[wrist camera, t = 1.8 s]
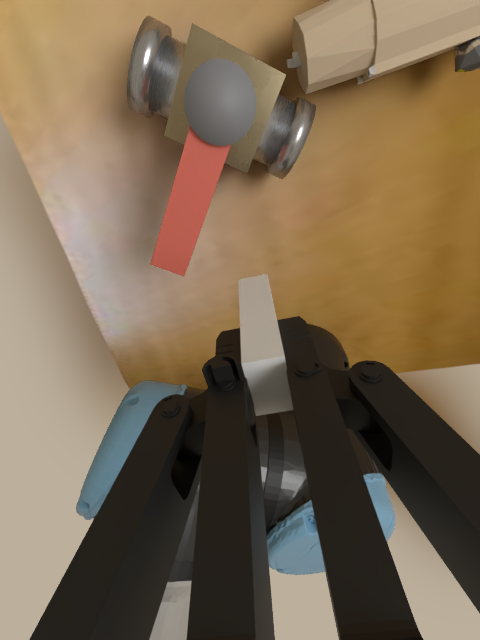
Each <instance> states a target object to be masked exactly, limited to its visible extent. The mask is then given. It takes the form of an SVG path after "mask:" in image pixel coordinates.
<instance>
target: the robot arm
mask: <svg viewBox="0 0 480 640" xmlns="http://www.w3.org/2000/svg"><path fill="white" fill-rule="evenodd" d="M239 309H240V328H238V329H233V330H228V331H222V332H221V333H220V335H219V336H218V338H217V340H216V355H215V357H213V358H212V359H210V360H208V361H207V362H206V363H205V365H204V366H203V369H202V372H203V374H204V377H205V380H206V382H207V385H208V389H207V390H206V391H205V390H200V389H196V388H191V387H187V385H184V384H181V385H175V384H169V383H163V382H157V381H149V380H148V381H142V382H140V383H138V384H136V385H134V386H133V387H132V388H131V389H130V390H129V391H128V393H127V394H126V395H125V397H124V399H123V400H122V402H121V404H120V406H119V407H118V409H117V411H116V414H115V415H114V417H113V419H112V422H111V423H110V425H109V427H108V429H107V432H106V434H105V436H104V438H103V440H102V442H101V445H100V446H99V449H98V451H97V453H96V455H95V458H94V460H93V462H92V465H91V467H90V469H89V472H88V474H87V477H86V479H85V482H84V485H83V487H82V490H81V495H80V498H79V501H78V503H77V506H76V510H77V513H78V514H79V515H82V516H83V517H84V518H85V519H87V520H90V519H91V518H94V520H93V523H92V524H91V526H90V528H89V530H88V532H87V533H86V536H85V537H84V539H83V541H82V543H81V545H80V546H79V548H78V550H77V552H76V554H75V556H74V558H73V560H72V561H71V563H70V565H69V567H68V569H67V571H66V573H65V575H64V576H63V578H62V580H61V582H60V584H59V586H58V587H57V589H56V591H55V593H54V595H53V597H52V599H51V600H50V602H49V604H48V606H47V608H46V610H45V612H44V614H43V616H42V617H41V619H40V621H39V623H38V625H37V627H36V628H35V630H34V632H33V634H32V636H31V638H30V640H275V636H274V624H273V612H272V599H271V587H270V576H269V567H271V568H272V569H276V570H277V571H278V572H280V573H284V574H294V575H301V574H303V575H304V574H313V573H319V572H326V577H327V582H328V587H329V591H330V597H331V602H332V607H333V612H334V616H335V622H336V627H337V632H338V636H339V640H423V638H422V637H421V634H420V632H419V630H418V628H417V625H416V623H415V620H414V617H413V614H412V612H411V609H410V606H409V603H408V600H407V598H406V595H405V592H404V589H403V586H402V584H401V581H400V578H399V575H398V572H397V569H396V567H395V564H394V561H393V558H392V555H391V553H390V550H389V547H388V544H387V541H388V539H389V538H390V536H391V534H392V533H393V530H394V526H395V514H394V509H393V507H392V504H391V501H390V498H389V495H388V492H387V489H386V486H385V484H386V482H385V478H386V479H387V481H388V482H389V484H390V485H391V487H392V488H393V490H394V491H395V492H396V494H397V495H398V497H399V498H400V500H401V501H402V502H403V504H404V505H405V507H406V508H407V510H408V511H409V513H410V514H411V515H412V517H413V518H414V520H415V521H416V522H417V524H418V525H419V527H420V528H421V530H422V531H423V532H424V534H425V535H426V537H427V538H428V540H429V541H430V543H431V544H432V545H433V547H434V548H435V550H436V551H437V553H438V554H439V556H440V557H441V558H442V559H443V561H444V563H445V564H446V566H447V567H448V568H449V570H450V571H451V572H452V574H453V575H454V577H455V578H456V580H457V581H458V583H459V584H460V585H461V587H462V588H463V590H464V591H465V593H466V594H467V596H468V597H469V598H470V600H471V601H472V603H473V604H474V606H475V607H476V608H477V610H478V611H479V613H480V455H479V454H478V453H477V452H476V451H475V450H474V449H473V448H472V447H471V446H470V445H469V444H468V443H467V442H466V441H465V440H464V439H463V438H462V437H461V436H459V435H458V434H457V433H456V432H455V431H454V430H453V429H452V428H451V427H450V426H449V425H448V424H447V423H446V422H445V421H444V420H443V419H442V418H441V417H440V416H439V415H437V413H435V412H434V411H433V410H432V409H431V408H430V407H429V406H428V405H427V404H426V403H425V402H424V401H423V400H422V399H421V398H420V397H419V396H418V395H416V393H415V392H414V391H413V390H411V389H410V388H409V387H408V386H407V385H406V384H405V383H404V382H403V381H402V380H401V379H400V378H399V377H398V376H397V375H396V374H395V373H394V372H393V371H392V370H391V369H390V368H389V367H387V366H386V365H384V364H383V363H380V362H376V361H362V362H358V363H356V364H354V365H353V366H352V367H351V369H350V367H349V362H348V358H347V356H346V353H345V351H344V349H343V347H342V345H341V343H340V342H339V341H338V339H337V338H336V337H335V336H334V335H332V334H331V333H330V332H328V331H326V330H325V329H323V328H320V327H317V326H314V325H309V324H307V323H306V321H304V320H303V319H302V318H301V317H299V316H298V317H292V318H287V319H282V320H277V318H276V313H275V308H274V303H273V299H272V294H271V289H270V285H269V280H268V275H267V274H264V275H259V276H254V277H249V278H244V279H239ZM381 472H382V473H381ZM382 474H383V475H384V477H385V478H384V477H383V475H382Z"/></svg>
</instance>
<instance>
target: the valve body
mask: <svg viewBox="0 0 480 640" xmlns="http://www.w3.org/2000/svg"><path fill="white" fill-rule="evenodd" d="M212 59H226V60H229V61H232V62H234V63H236V64H237V65H239V66H240V67H241V68H242V69H243V70H244V71H245V72H246V73H247V75H248V76H249V78H250V80H251V82H252V84H253V87H254V90H255V94H256V113H255V117H254V121H253V123H252V125H251V127H250V129H249V131H248V132H247V133H246V135H245V136H244V137H242V138H241V139H240V140H239V141H237V142H235V143H233V144H231V146H230V149H229V152H228V154H227V157H226V160H225V164H227V165H229V166H231V167H233V168H236V169H238V170H240V171H242V172H244V173H248V170H249V167H250V165H251V162H252V160H253V159H254V160H257V161H259V162H261V163H263V164H265V165H267V169H266V171H267V173H269V174H272V175H274V176H276V177H278V178H280V179H283V178H284V177H285V176H286V175H287V174H288V173H289V171H290V170H291V168H292V167H293V165H294V163H295V162H296V160H297V158H298V156H299V154H300V152H301V150H302V148H303V146H304V143H305V141H306V139H307V136H308V134H309V131H310V129H311V126H312V123H313V120H314V116H315V111H316V106H315V104H313V103H311V102H309V101H307V100H305V99H303V98H302V97H300V96H299V97H297V98H296V100H295V101H294V102H293V101H291V100H289V99H287V98H285V97H283V96H281V95H280V94H279V92H280V89H281V87H282V84H283V82H284V79H285V77H286V75H285V74H284V73H282V72H280V71H278V70H276V69H275V68H273V67H271V66H269V65H267V64H265V63H264V62H262V61H260V60H258V59H256V58H254V57H253V56H251V55H249V54H247V53H245V52H244V51H242V50H240V49H238V48H236V47H234V46H233V45H231V44H229V43H227V42H225V41H224V40H222V39H220V38H218V37H216V36H214V35H213V34H211V33H209V32H207V31H205V30H203V29H202V28H200V27H198V26H196V25H194V24H193V23H192V26H191V30H190V34H189V38H188V42H187V45H185V44H183V43H182V42H180V41H178V40H176V39H174V38H172V33H171V28H170V27H169V26H168V25H166V24H164V23H162V22H160V21H158V20H156V19H155V18H153V17H151V16H147V17H146V18H145V19H144V20H143V22H142V24H141V26H140V28H139V31H138V33H137V36H136V39H135V43H134V47H133V51H132V55H131V60H130V66H129V73H128V85H127V97H128V104H129V107H130V109H132V110H134V111H136V112H138V113H140V114H142V115H145V116H147V117H149V118H150V117H151V116H152V115H153V114H154V113H157V114H159V115H161V116H163V117H165V118H167V119H168V121H167V125H166V129H165V133H164V136H166V137H168V138H170V139H172V140H174V141H177V142H179V143H181V144H183V145H185V142H186V138H187V135H188V131H189V128H190V124H189V122H188V119H187V117H186V113H185V107H184V94H185V89H186V85H187V82H188V80H189V78H190V76H191V75H192V73H193V72H194V71H195V69H196V68H197V67H199V66H200V65H201V64H203V63H204V62H206V61H209V60H212Z"/></svg>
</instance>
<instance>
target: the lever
mask: <svg viewBox="0 0 480 640" xmlns="http://www.w3.org/2000/svg"><path fill="white" fill-rule="evenodd" d="M184 107H185V113H186V117H187V119H188V122H189V124H190V128H189V131H188V135H187V138H186V142H185V145H184V149H183V152H182V156H181V159H180V163H179V166H178V170H177V173H176V177H175V180H174V184H173V187H172V191H171V194H170V198H169V201H168V205H167V208H166V212H165V215H164V218H163V222H162V225H161V229H160V232H159V236H158V239H157V243H156V246H155V250H154V253H153V257H152V260H151V265H154V266H156V267H159V268H162V269H165V270H168V271H170V272H173V273H176V274H179V275H181V276H184V275H185V273H186V270H187V267H188V264H189V261H190V259H191V256H192V253H193V250H194V247H195V245H196V242H197V239H198V236H199V233H200V230H201V228H202V225H203V222H204V219H205V216H206V214H207V211H208V208H209V205H210V202H211V199H212V197H213V194H214V191H215V188H216V185H217V183H218V180H219V177H220V174H221V171H222V169H223V166H224V163H225V160H226V157H227V154H228V152H229V149H230V146H231V144H233V143H235V142H237V141H239V140H240V139H241V138H242V137H244V136H245V135H246V133H247V132H248V131H249V129H250V127H251V125H252V123H253V121H254V117H255V113H256V94H255V90H254V87H253V84H252V82H251V80H250V78H249V76H248V75H247V73H246V72H245V71H244V70H243V69H242V68H241V67H240V66H239V65H237V64H236V63H234V62H232V61H229V60H226V59H212V60H209V61H206V62H204V63H203V64H201V65H200V66H199V67H197V68H196V69H195V71H194V72H193V73H192V75H191V76H190V78H189V80H188V82H187V85H186V89H185V94H184Z"/></svg>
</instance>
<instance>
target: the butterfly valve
mask: <svg viewBox="0 0 480 640" xmlns="http://www.w3.org/2000/svg"><path fill="white" fill-rule="evenodd" d="M292 46H293V52H292V59H287V60H286V61H287V67H288V68H296V70H297V76H298V79H299V82H300V86H301V88H302V90H303V91H304V92H305V94H308V93H311V92H314V91H317V90H320V89H323V88H326V87H329V86H332V85H335V84H338V83H341V82H343V81H346V80H349V79H352V78H355V77H357V78H356V80H357V84H362V83H365V82H367V81H370V80H373V79H375V78H378V77H381V76H383V75H386V74H389V73H391V72H394V71H397V70H399V69H402V68H405V67H408V66H410V65H413V64H416V63H418V62H421V61H424V60H426V59H429V58H432V57H434V56H437V55H440V54H442V53H445V52H448V51H450V50H453V49H455V72H466V71H472V70H475V69H478V68H480V0H329V1H327V2H325V3H323V4H321V5H319V6H316V7H314V8H312V9H310V10H308V11H306V12H304V13H302V14H300V15H297V16H295V17H294V19H293V25H292ZM456 48H457V49H456Z"/></svg>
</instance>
